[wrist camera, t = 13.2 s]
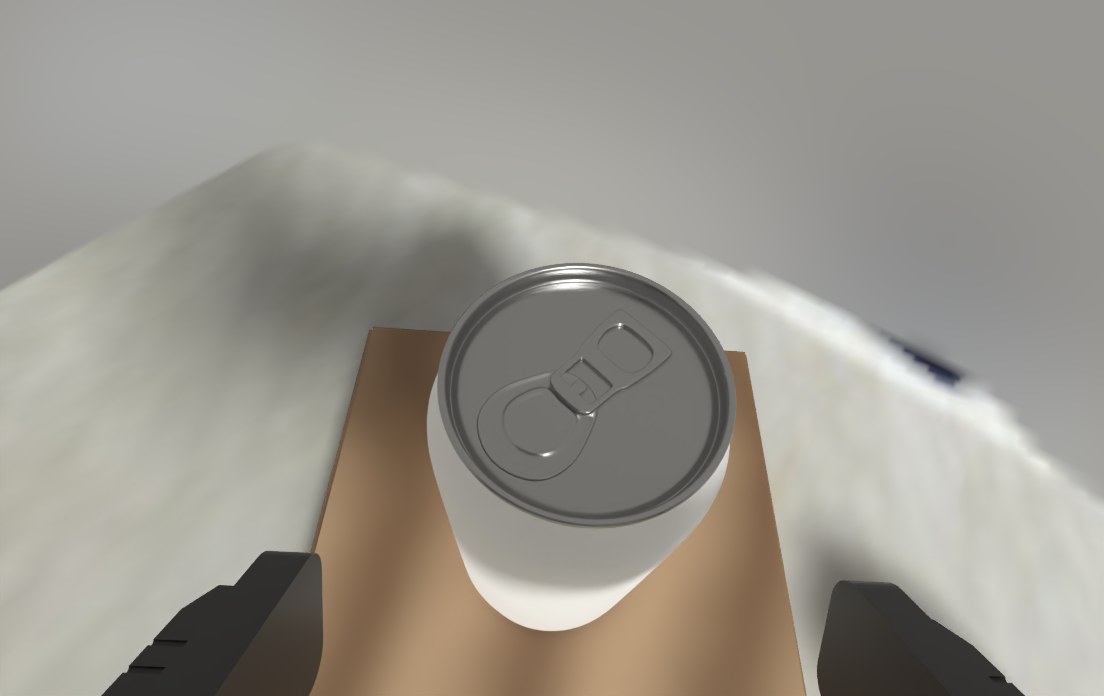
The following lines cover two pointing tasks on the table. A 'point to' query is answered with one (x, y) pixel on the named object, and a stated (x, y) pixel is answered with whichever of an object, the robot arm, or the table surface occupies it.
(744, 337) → the table surface
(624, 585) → the can
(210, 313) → the table surface
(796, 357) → the table surface
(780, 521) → the table surface
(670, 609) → the podium
